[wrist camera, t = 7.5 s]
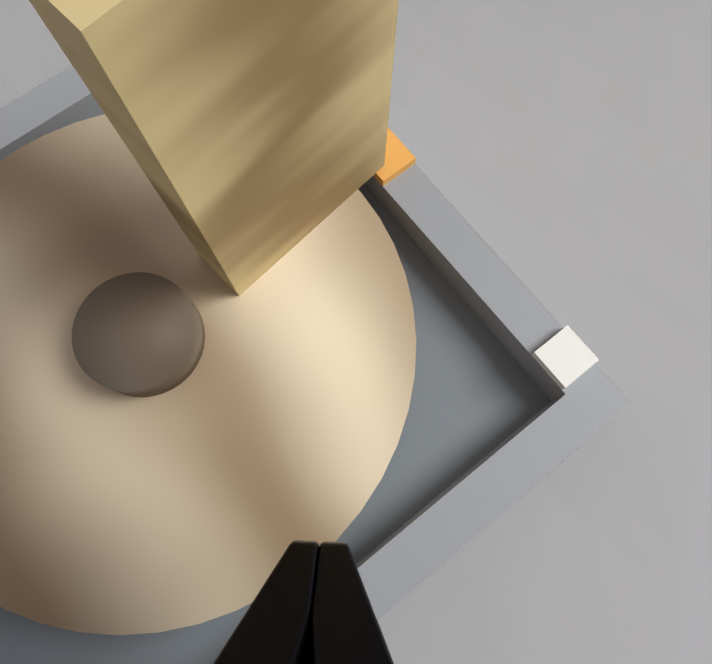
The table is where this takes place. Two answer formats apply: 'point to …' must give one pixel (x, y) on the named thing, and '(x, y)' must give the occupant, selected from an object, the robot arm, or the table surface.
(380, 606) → the bezel plate
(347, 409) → the beige disc with bar
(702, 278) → the table surface
